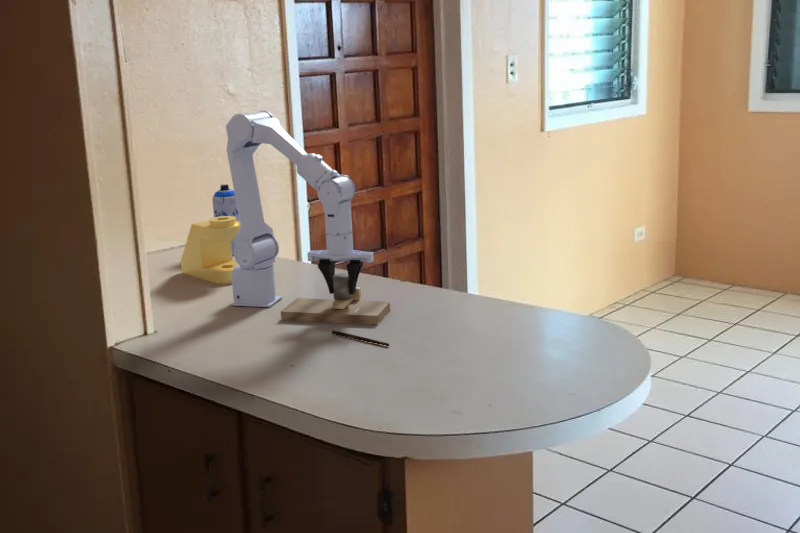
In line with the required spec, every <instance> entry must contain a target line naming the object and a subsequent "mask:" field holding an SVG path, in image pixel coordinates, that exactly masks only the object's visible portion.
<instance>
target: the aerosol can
mask: <svg viewBox="0 0 800 533" xmlns="http://www.w3.org/2000/svg"><path fill="white" fill-rule="evenodd" d="M219 188H220V189H218V190H217V191H215V192H214V194H213V195H212V210H213V211H212V212H213V218H214V217H220V216H234V217H236V220H237V221H238V222H240V220H239V215H238V209H237V204H236V198H235V193H234V189H231V188H229V184H220V187H219ZM234 247H235V240H232V241H231V249H232V257H233V256H234Z"/></svg>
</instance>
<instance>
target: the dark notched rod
mask: <svg viewBox="0 0 800 533" xmlns="http://www.w3.org/2000/svg"><path fill="white" fill-rule="evenodd" d="M334 334H336V335H335V336H338V335H340V336H339V337H342V336H345V337H344V338H346V337H350V338H349V339H351V338H354V339H353V340H355V339H358V340H357V341H359V340H363V341H367V342H372V343H377V344H382V345H386V346H389V347H390V344H389V343H388V342H384V341H380V340H376V339H372V338H369V337H364V336H359V335H356V334H351V333H347V332H342V331H339V330H334V329H333V330H332V331H331V335H334ZM363 341H362V342H363ZM367 342H366V343H367ZM372 343H371V344H372Z"/></svg>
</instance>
